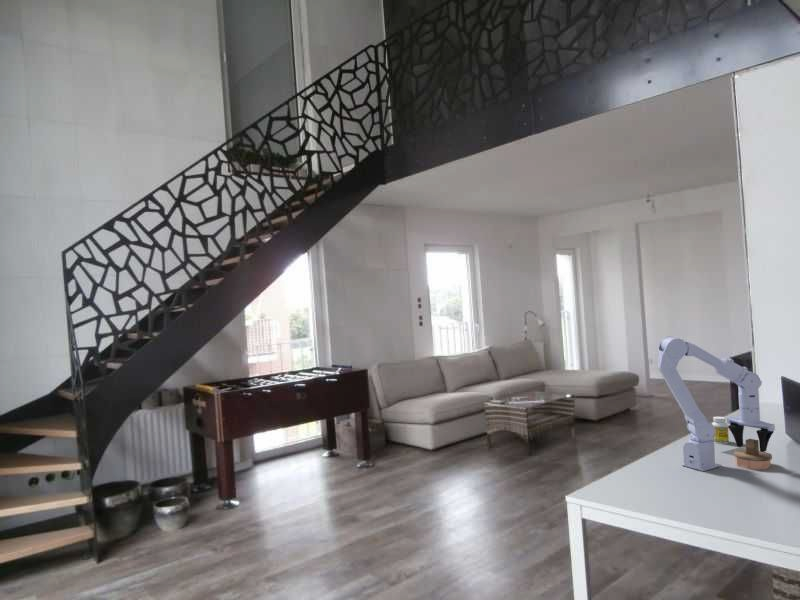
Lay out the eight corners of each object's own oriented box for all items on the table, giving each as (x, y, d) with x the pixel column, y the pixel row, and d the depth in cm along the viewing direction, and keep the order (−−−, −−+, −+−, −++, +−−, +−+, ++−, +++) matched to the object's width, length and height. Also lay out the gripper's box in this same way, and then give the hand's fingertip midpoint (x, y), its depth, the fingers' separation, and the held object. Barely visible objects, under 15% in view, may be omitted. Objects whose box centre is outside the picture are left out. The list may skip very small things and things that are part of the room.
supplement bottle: (722, 440, 216) (720, 415, 216) (732, 443, 210) (730, 418, 210) (709, 441, 215) (708, 416, 215) (719, 445, 210) (717, 419, 210)
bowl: (758, 472, 178) (757, 462, 178) (728, 464, 186) (728, 455, 186) (776, 466, 182) (775, 457, 182) (746, 459, 190) (746, 451, 190)
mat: (751, 460, 190) (751, 459, 190) (720, 453, 199) (720, 452, 199) (771, 454, 194) (771, 454, 194) (740, 448, 204) (740, 447, 204)
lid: (759, 463, 177) (758, 446, 177) (726, 455, 187) (726, 439, 187) (779, 457, 182) (778, 440, 182) (746, 450, 191) (745, 434, 191)
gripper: (779, 409, 179) (781, 451, 179) (735, 402, 192) (737, 442, 192) (766, 412, 176) (768, 455, 176) (722, 405, 189) (724, 445, 189)
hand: (751, 448), depth 184 cm, fingers open, 7 cm apart
